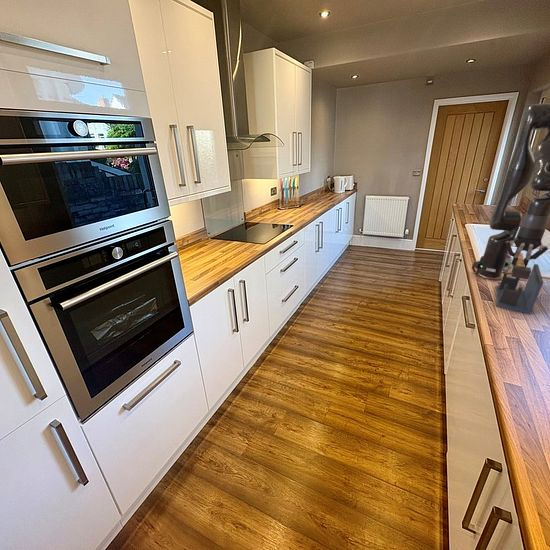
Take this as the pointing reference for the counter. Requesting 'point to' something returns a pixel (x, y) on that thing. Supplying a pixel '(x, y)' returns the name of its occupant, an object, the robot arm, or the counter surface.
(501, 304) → the rack
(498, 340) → the counter surface
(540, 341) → the counter surface
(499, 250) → the robot arm
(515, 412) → the counter surface
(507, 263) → the knee model
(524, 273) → the brush
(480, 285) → the counter surface
